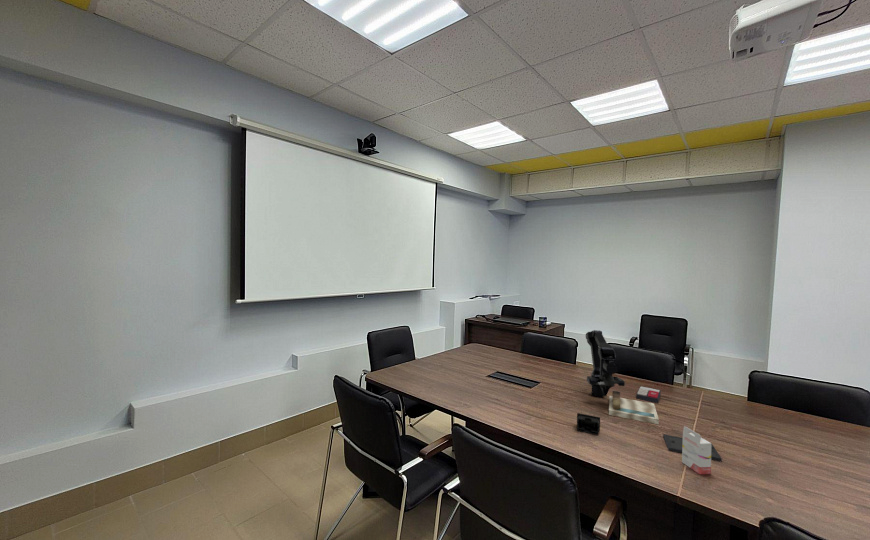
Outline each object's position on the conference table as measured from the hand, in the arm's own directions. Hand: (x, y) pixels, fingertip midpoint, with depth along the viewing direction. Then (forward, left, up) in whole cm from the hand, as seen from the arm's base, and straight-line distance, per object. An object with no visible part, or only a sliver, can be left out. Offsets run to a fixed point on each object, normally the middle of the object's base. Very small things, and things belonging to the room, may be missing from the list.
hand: (604, 396), depth 193 cm
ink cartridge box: (+33, -52, -5) cm, 62 cm away
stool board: (+13, -4, -4) cm, 14 cm away
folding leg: (+6, -3, -2) cm, 7 cm away
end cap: (-6, -39, -5) cm, 40 cm away
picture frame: (+34, -35, -5) cm, 49 cm away
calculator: (+23, +26, -5) cm, 35 cm away
